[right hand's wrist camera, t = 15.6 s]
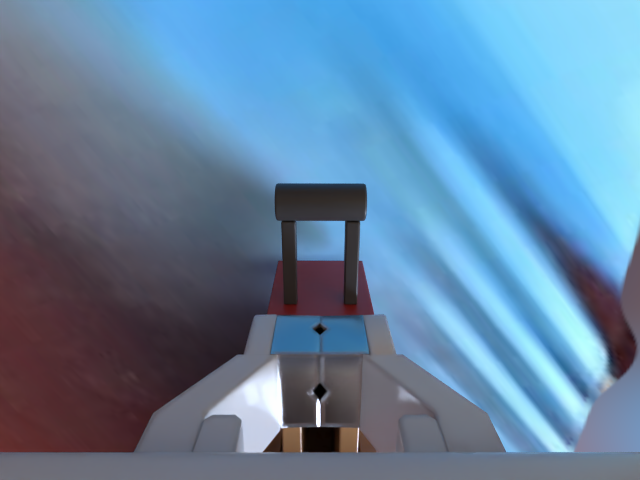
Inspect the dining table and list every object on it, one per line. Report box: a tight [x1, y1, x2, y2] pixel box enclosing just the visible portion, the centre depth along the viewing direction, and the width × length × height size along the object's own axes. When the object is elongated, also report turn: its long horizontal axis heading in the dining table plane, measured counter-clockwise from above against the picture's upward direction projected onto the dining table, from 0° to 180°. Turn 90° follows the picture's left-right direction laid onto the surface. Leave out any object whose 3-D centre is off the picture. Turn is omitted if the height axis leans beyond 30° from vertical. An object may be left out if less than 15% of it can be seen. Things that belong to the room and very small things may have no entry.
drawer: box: [267, 184, 374, 452], centre depth 22 cm, size 22×5×9 cm, turn 0°
